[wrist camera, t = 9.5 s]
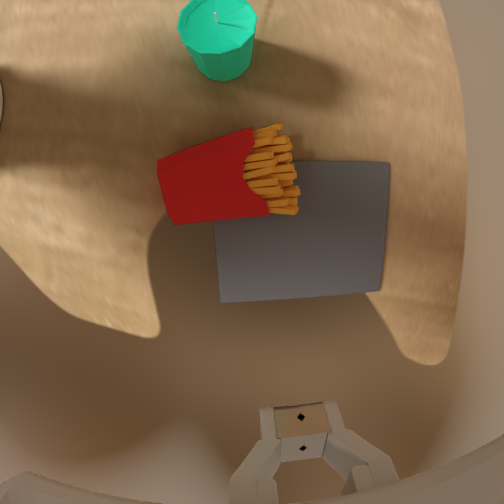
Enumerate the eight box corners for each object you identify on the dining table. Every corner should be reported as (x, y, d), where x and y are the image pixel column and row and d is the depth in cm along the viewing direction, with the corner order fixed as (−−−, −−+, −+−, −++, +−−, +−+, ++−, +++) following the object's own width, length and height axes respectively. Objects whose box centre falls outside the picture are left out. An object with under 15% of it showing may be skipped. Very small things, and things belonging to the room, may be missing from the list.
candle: (254, 78, 29) (263, 43, 17) (197, 85, 29) (175, 55, 17) (248, 29, 27) (253, -23, 15) (192, 36, 27) (170, -11, 15)
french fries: (151, 151, 27) (289, 120, 26) (164, 149, 31) (285, 122, 30) (175, 242, 30) (307, 216, 29) (185, 229, 34) (301, 206, 33)
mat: (220, 300, 37) (220, 302, 37) (209, 164, 32) (209, 165, 31) (378, 289, 38) (379, 290, 37) (387, 162, 32) (389, 162, 32)
